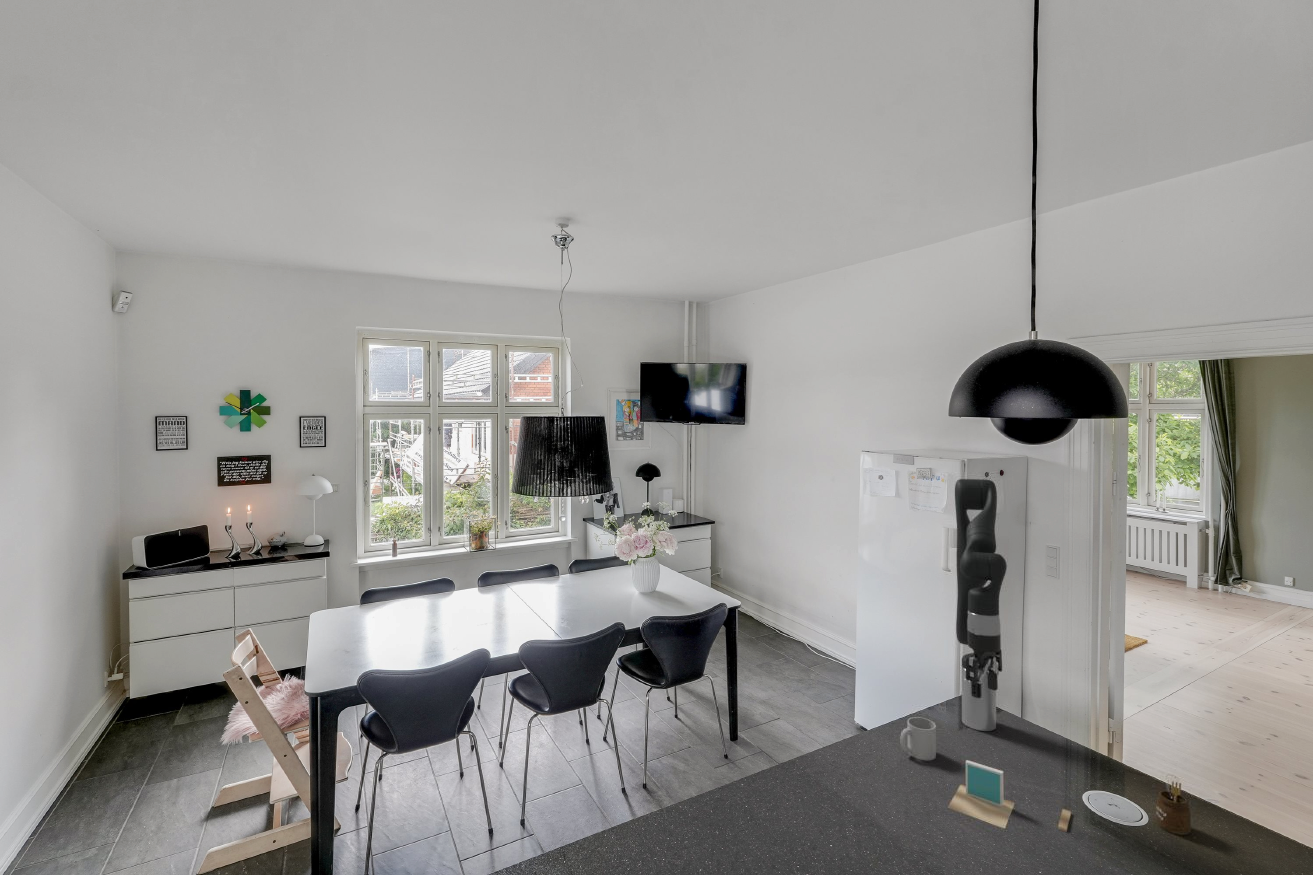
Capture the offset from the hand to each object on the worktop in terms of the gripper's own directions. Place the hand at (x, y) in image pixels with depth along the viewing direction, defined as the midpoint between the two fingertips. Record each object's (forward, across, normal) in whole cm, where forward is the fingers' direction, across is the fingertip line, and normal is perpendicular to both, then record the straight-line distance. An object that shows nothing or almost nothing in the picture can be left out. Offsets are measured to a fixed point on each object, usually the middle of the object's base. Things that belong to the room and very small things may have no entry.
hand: (984, 693), depth 155 cm
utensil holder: (+23, -15, +34) cm, 44 cm away
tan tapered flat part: (+23, +5, +20) cm, 31 cm away
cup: (+22, +3, -17) cm, 28 cm away
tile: (+22, +9, +4) cm, 24 cm away
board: (+23, +12, +5) cm, 26 cm away
